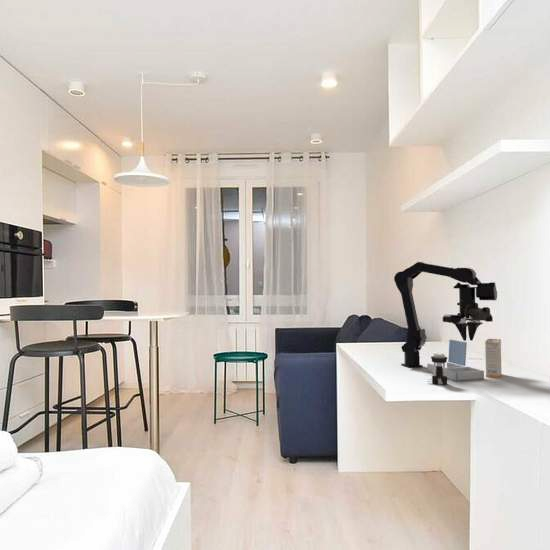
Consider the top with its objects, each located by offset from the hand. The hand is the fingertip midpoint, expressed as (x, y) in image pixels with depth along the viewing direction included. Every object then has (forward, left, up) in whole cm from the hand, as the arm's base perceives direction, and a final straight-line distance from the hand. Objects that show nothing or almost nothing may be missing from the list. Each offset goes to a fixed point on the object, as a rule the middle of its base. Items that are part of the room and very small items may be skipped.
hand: (468, 340), depth 177 cm
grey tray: (+4, -10, -12) cm, 16 cm away
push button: (+15, -24, -12) cm, 31 cm away
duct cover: (0, -5, -4) cm, 7 cm away
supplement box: (+9, +4, -12) cm, 16 cm away
